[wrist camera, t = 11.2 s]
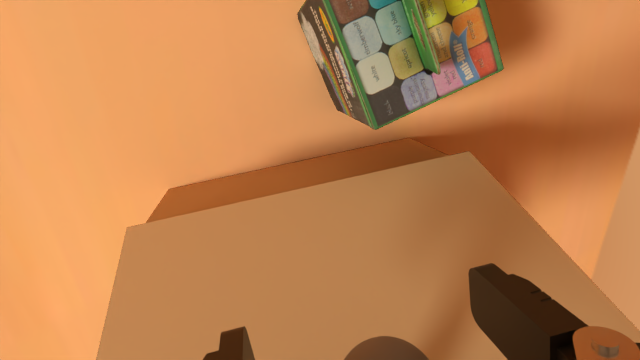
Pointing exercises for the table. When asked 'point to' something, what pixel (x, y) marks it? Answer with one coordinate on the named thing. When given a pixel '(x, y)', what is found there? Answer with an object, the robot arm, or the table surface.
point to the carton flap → (340, 271)
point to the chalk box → (398, 52)
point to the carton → (291, 177)
